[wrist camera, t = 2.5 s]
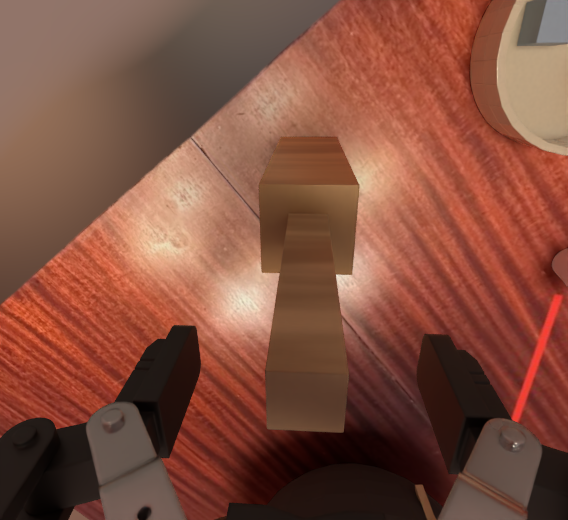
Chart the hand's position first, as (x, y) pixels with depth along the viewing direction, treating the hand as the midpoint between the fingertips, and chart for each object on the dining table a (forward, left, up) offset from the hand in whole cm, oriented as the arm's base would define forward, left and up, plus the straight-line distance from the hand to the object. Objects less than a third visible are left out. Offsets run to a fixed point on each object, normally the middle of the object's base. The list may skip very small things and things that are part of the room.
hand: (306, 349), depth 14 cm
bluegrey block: (-13, +21, -31) cm, 39 cm away
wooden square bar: (0, 0, -12) cm, 12 cm away
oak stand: (0, 0, -32) cm, 32 cm away
